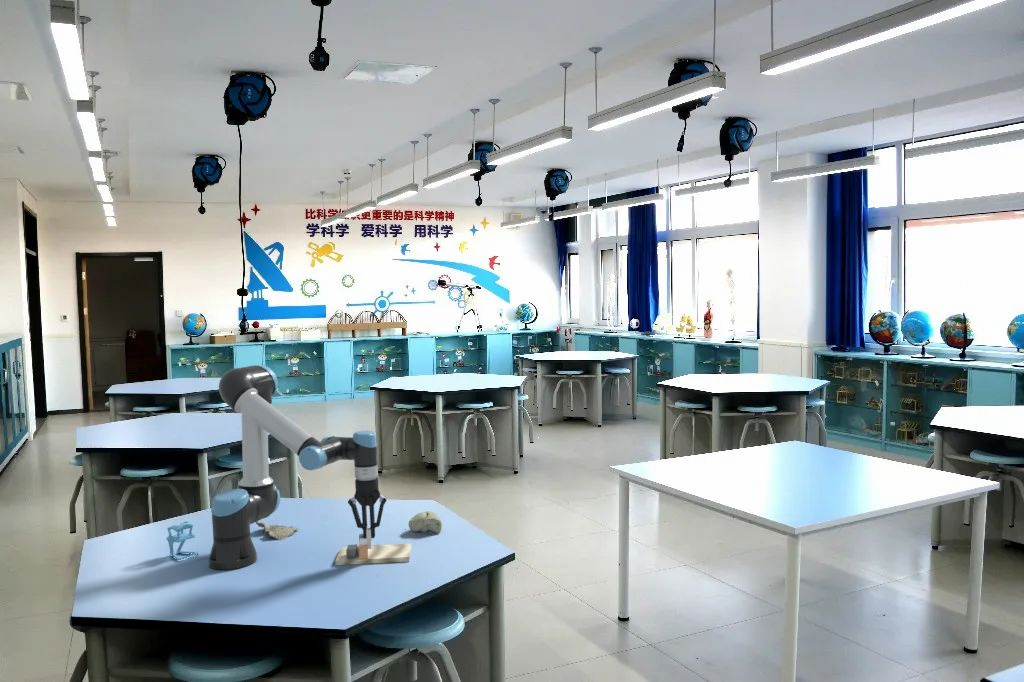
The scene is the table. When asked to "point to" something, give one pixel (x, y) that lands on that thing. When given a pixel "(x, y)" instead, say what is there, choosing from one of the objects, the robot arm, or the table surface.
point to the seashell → (425, 522)
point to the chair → (180, 538)
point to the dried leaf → (277, 530)
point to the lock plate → (377, 555)
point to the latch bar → (363, 547)
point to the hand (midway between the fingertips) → (369, 547)
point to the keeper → (351, 551)
